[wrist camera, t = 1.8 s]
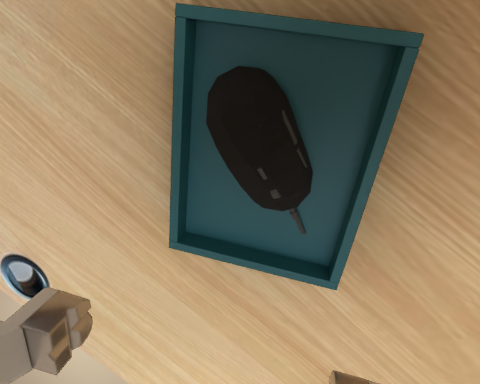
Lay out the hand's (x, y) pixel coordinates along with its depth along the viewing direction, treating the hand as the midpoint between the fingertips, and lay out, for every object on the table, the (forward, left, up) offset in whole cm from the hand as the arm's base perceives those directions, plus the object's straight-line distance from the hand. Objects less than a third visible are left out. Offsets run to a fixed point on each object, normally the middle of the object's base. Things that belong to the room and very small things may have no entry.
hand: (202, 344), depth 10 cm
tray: (0, 0, -18) cm, 18 cm away
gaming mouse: (0, 0, -18) cm, 18 cm away
